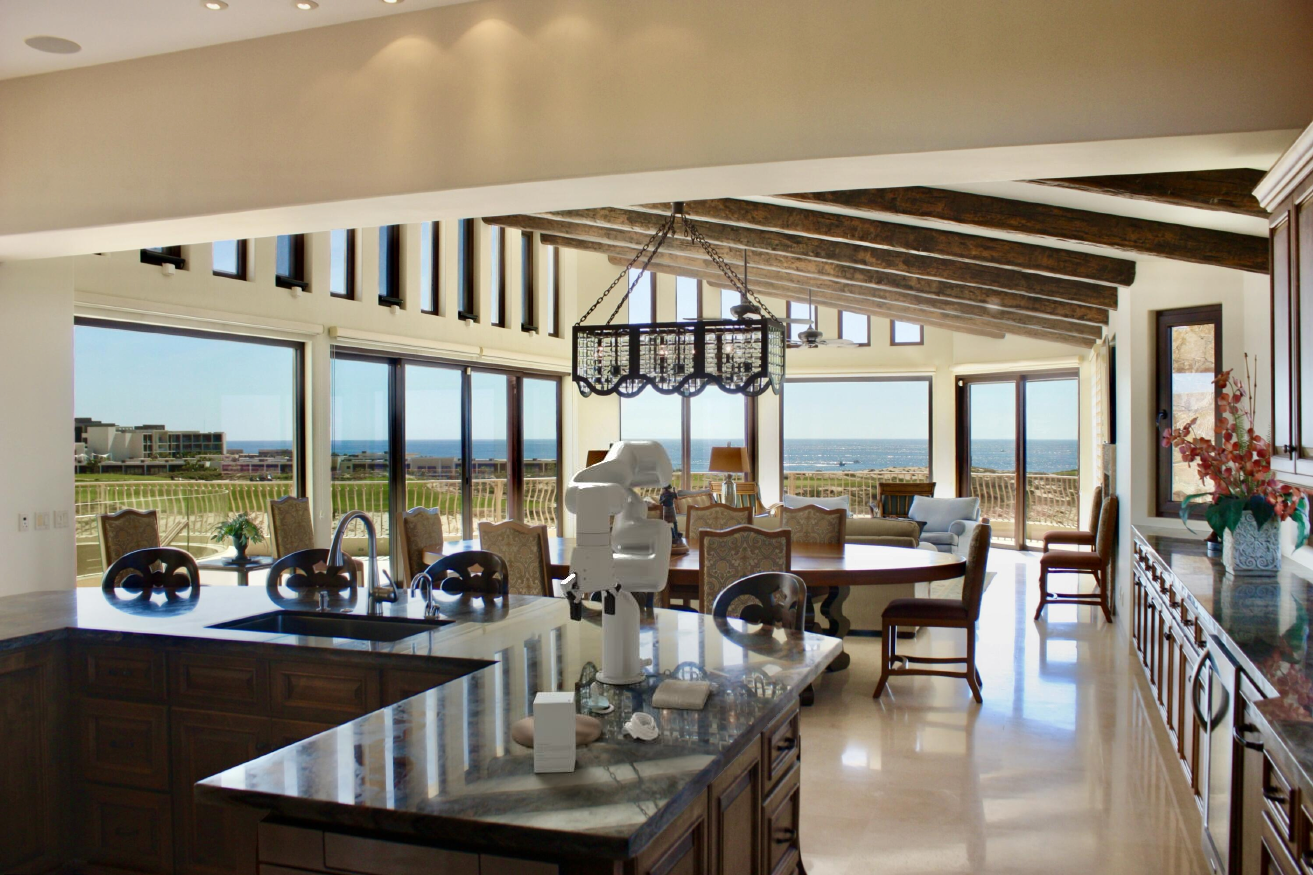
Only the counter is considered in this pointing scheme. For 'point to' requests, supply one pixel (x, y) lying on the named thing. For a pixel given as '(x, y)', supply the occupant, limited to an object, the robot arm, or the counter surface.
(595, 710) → the pacifier
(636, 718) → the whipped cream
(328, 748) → the counter surface
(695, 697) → the washcloth
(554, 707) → the supplement box
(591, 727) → the walnut board
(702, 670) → the counter surface
